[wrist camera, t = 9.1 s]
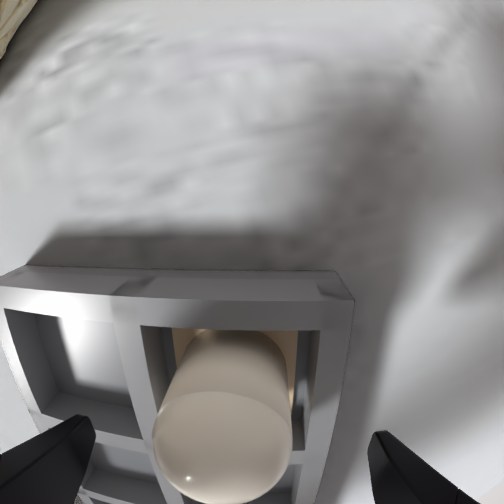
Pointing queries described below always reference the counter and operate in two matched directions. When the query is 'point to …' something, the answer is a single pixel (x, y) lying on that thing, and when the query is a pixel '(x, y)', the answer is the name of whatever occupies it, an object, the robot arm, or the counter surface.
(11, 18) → the storage basket
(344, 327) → the grey compartment tray
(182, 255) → the counter surface
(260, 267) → the counter surface
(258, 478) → the egg
